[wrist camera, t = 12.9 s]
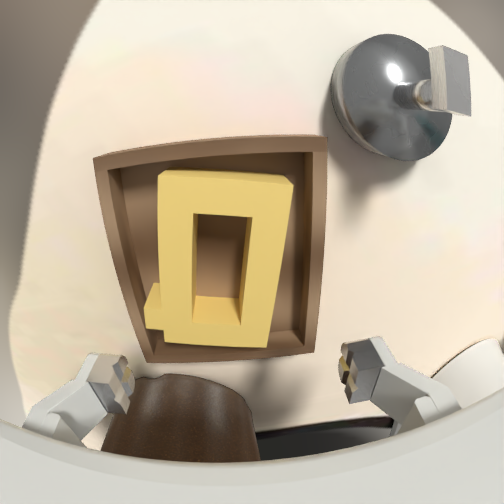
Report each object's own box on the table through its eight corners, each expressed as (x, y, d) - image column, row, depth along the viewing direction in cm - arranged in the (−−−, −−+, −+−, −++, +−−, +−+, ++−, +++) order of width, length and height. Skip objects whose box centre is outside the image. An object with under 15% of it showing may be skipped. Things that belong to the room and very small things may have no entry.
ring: (283, 174, 15) (293, 185, 12) (261, 319, 18) (266, 347, 16) (151, 166, 14) (135, 175, 11) (156, 313, 18) (147, 340, 15)
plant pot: (240, 455, 28) (249, 572, 14) (104, 426, 25) (80, 547, 10) (303, 376, 22) (349, 562, 7) (101, 328, 19) (29, 533, 4)
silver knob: (431, 159, 15) (501, 184, 9) (331, 153, 15) (388, 174, 9) (429, 55, 12) (499, 45, 6) (327, 33, 12) (379, -7, 6)
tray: (306, 331, 20) (314, 352, 18) (152, 340, 19) (146, 362, 17) (314, 134, 14) (327, 137, 12) (109, 152, 14) (92, 158, 12)
